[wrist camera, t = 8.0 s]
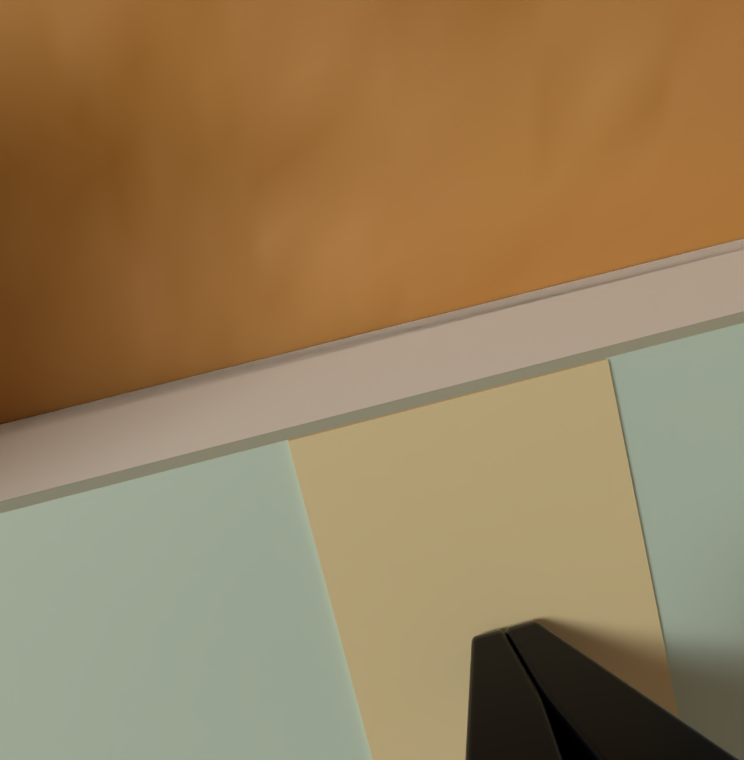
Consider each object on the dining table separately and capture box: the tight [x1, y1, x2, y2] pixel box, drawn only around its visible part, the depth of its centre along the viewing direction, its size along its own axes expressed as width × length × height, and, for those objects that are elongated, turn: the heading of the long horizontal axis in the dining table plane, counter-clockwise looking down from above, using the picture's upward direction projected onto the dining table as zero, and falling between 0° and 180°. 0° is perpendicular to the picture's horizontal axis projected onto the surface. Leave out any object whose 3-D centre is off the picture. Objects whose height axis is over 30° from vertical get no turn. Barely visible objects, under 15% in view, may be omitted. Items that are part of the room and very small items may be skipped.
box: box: [0, 239, 744, 501], centre depth 13 cm, size 16×8×5 cm, turn 103°
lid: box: [0, 311, 744, 760], centre depth 9 cm, size 16×8×1 cm, turn 103°
